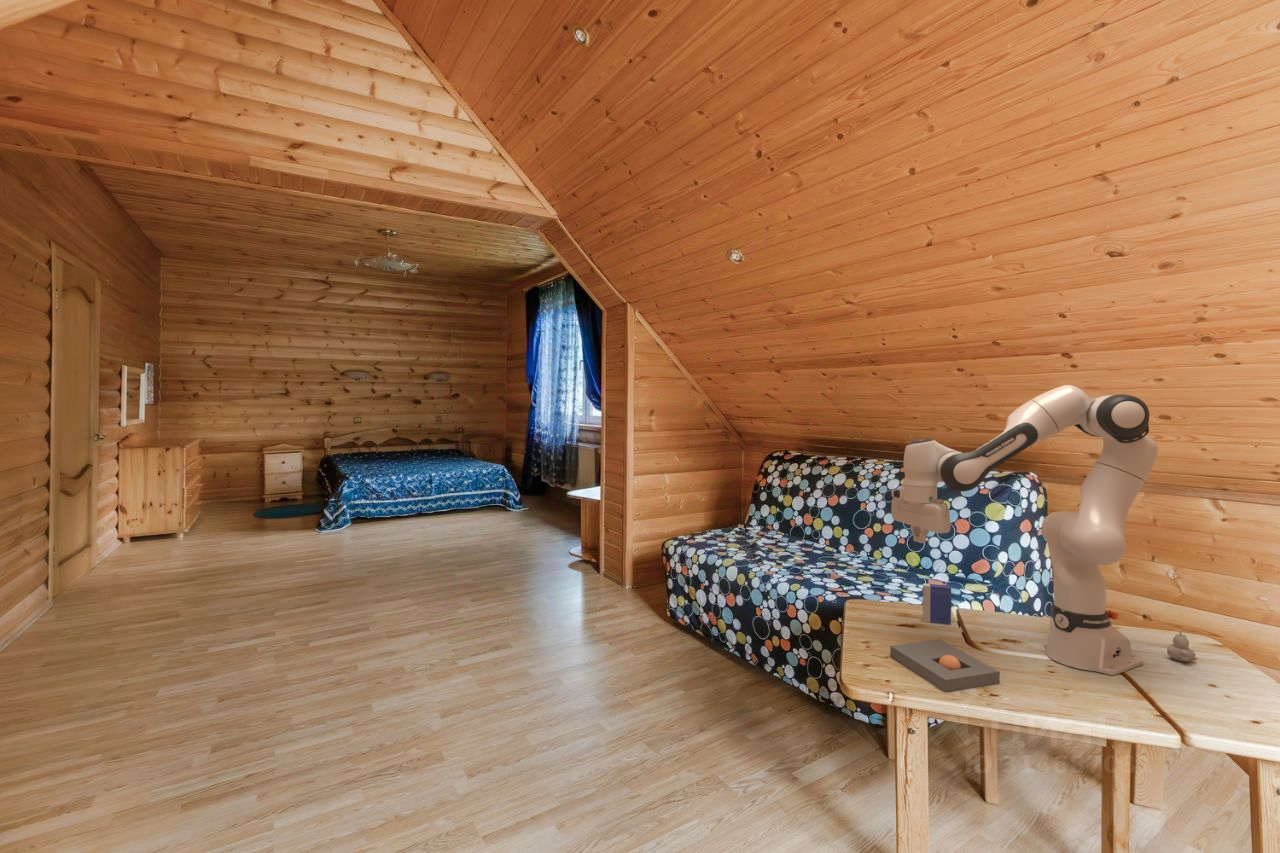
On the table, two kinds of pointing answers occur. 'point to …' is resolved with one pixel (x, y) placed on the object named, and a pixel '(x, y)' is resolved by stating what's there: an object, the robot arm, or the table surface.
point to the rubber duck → (1180, 649)
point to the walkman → (936, 603)
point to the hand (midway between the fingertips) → (919, 542)
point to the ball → (950, 662)
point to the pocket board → (927, 665)
